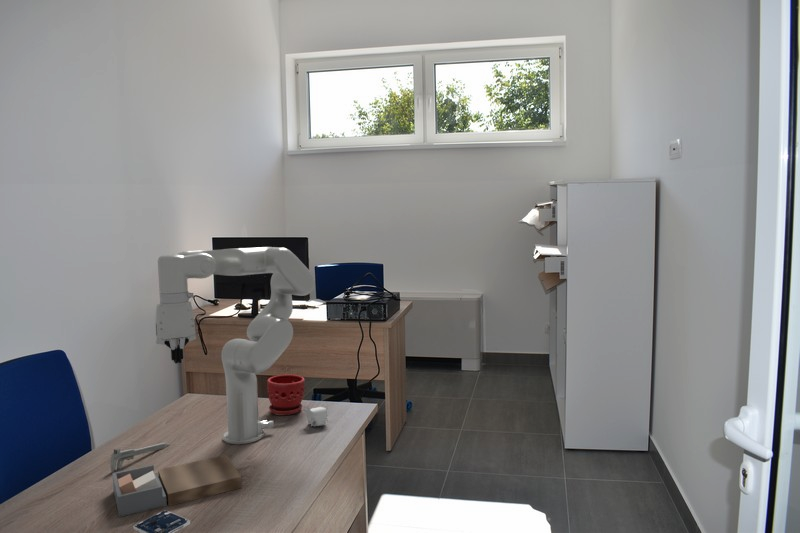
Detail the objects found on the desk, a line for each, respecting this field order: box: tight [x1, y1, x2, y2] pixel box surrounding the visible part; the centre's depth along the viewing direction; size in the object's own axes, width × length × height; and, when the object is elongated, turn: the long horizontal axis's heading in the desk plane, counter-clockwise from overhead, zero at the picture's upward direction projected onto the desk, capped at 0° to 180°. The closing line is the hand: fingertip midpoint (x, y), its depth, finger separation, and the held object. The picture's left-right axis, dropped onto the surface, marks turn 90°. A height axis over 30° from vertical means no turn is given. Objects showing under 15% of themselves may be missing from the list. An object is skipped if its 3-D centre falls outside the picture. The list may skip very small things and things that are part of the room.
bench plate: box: [157, 454, 243, 506], centre depth 157 cm, size 18×16×3 cm
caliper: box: [109, 442, 171, 473], centre depth 174 cm, size 21×1×6 cm, turn 157°
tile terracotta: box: [118, 474, 136, 494], centre depth 148 cm, size 5×5×3 cm
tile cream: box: [133, 471, 159, 491], centre depth 150 cm, size 5×5×3 cm
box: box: [112, 463, 168, 518], centre depth 149 cm, size 11×15×5 cm
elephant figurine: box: [303, 402, 329, 427], centre depth 198 cm, size 8×10×7 cm
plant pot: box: [266, 374, 306, 416], centre depth 212 cm, size 13×13×12 cm
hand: (177, 362), depth 169 cm, fingers closed
